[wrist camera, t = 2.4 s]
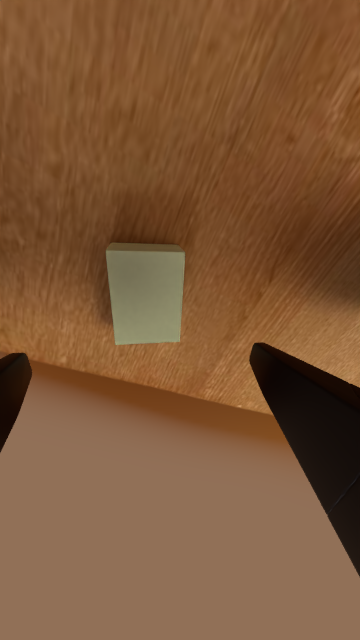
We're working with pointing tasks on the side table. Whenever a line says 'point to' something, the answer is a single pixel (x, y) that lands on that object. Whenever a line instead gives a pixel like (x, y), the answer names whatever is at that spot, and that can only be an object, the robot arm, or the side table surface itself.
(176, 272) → the pale green rectangular block
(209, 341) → the side table surface
